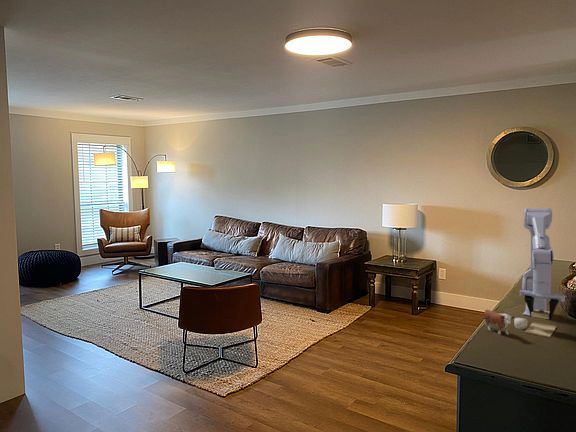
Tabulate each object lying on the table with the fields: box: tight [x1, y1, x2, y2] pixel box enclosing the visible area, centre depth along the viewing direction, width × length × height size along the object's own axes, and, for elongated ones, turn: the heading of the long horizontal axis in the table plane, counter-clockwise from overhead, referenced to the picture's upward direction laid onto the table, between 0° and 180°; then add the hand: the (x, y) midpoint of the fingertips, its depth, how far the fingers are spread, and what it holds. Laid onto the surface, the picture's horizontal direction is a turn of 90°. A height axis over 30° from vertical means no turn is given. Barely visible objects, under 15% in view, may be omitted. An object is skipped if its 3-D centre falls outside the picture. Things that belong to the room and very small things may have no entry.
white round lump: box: [513, 317, 528, 330], centre depth 166 cm, size 4×4×3 cm
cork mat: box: [524, 321, 558, 339], centre depth 162 cm, size 14×8×1 cm, turn 140°
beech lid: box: [531, 309, 550, 320], centre depth 162 cm, size 6×6×2 cm
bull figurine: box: [483, 309, 515, 336], centre depth 160 cm, size 4×13×8 cm, turn 16°
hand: (541, 317), depth 162 cm, fingers closed on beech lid, 5 cm apart
